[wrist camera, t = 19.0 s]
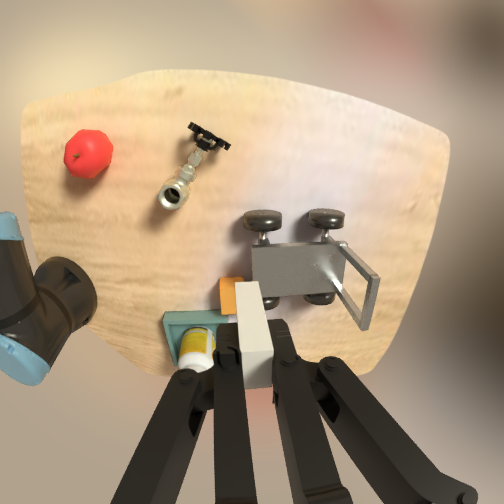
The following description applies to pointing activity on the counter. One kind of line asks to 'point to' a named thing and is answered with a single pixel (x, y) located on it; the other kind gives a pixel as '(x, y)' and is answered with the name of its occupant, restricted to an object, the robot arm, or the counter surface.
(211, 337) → the pill bottle
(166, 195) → the valve
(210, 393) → the robot arm
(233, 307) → the block
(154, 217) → the counter surface
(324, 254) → the trolley
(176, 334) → the tray
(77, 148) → the apple
